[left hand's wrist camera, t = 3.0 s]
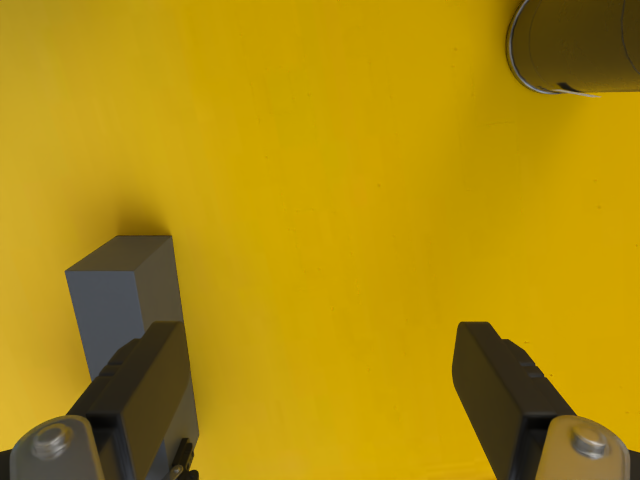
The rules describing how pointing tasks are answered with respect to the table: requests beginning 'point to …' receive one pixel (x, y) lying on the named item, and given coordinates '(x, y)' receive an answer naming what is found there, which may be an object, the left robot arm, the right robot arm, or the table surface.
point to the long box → (131, 315)
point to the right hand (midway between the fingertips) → (159, 443)
